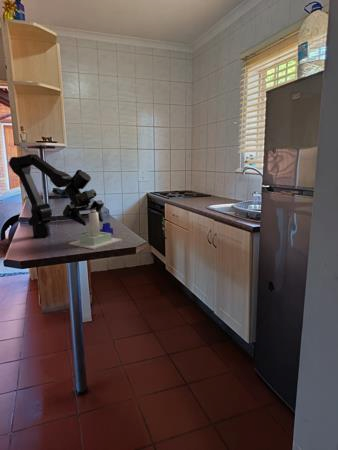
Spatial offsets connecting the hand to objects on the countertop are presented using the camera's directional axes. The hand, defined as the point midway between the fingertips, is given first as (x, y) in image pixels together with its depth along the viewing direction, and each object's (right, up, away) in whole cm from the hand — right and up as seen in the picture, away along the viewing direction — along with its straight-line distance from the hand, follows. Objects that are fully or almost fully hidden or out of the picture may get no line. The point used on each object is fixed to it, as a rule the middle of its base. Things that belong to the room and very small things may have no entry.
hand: (94, 223), depth 130 cm
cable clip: (-1, -5, +19) cm, 20 cm away
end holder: (0, -8, +2) cm, 8 cm away
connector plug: (0, -8, +2) cm, 8 cm away
